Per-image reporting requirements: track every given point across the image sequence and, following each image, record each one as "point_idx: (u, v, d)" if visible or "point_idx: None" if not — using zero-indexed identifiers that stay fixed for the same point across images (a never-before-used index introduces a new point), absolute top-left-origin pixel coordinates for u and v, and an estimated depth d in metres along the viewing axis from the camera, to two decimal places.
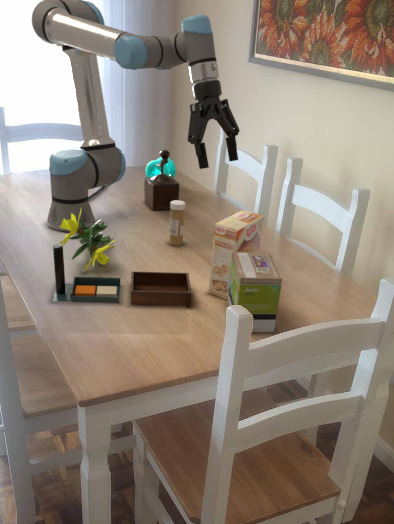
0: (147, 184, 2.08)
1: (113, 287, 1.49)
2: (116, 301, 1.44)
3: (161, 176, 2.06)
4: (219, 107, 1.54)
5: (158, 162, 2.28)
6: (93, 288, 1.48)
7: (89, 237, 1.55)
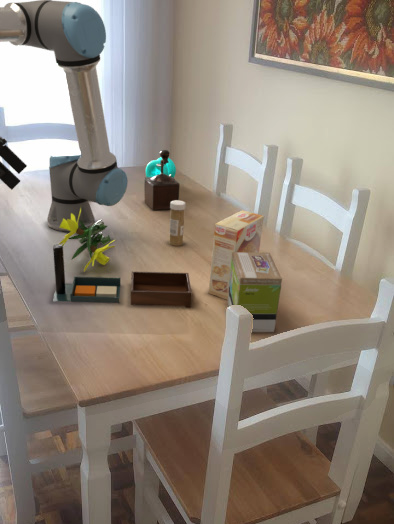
0: (147, 184, 2.08)
1: (113, 287, 1.49)
2: (116, 301, 1.44)
3: (161, 176, 2.06)
4: None
5: (158, 162, 2.28)
6: (93, 288, 1.48)
7: (89, 237, 1.55)
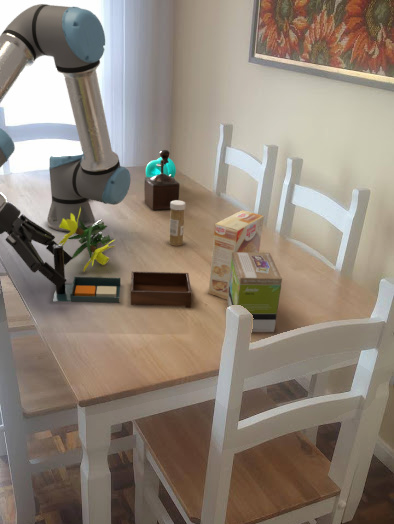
0: (147, 184, 2.08)
1: (113, 287, 1.49)
2: (116, 301, 1.44)
3: (161, 176, 2.06)
4: None
5: (158, 162, 2.28)
6: (93, 288, 1.48)
7: (88, 237, 1.55)
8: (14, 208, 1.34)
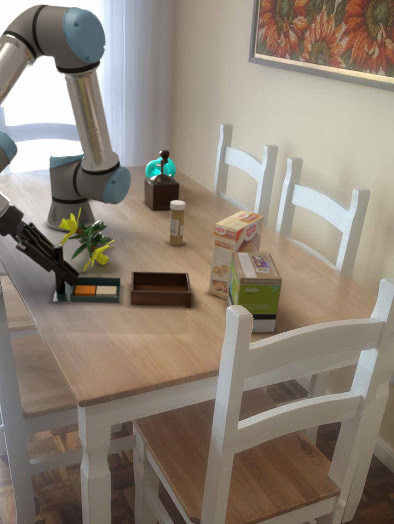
0: (147, 184, 2.08)
1: (113, 287, 1.49)
2: (116, 301, 1.44)
3: (161, 176, 2.06)
4: None
5: (158, 162, 2.28)
6: (93, 288, 1.48)
7: (88, 237, 1.55)
8: (17, 211, 1.34)
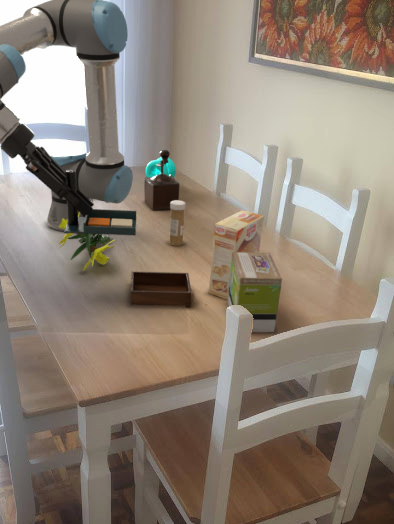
0: (147, 184, 2.08)
1: (128, 220, 1.40)
2: (132, 232, 1.35)
3: (161, 176, 2.06)
4: None
5: (158, 162, 2.28)
6: (107, 220, 1.38)
7: (88, 237, 1.55)
8: (28, 129, 1.25)
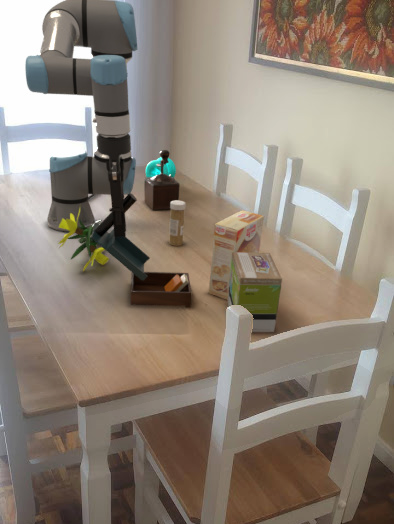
0: (147, 184, 2.08)
1: None
2: (142, 277, 1.42)
3: (161, 176, 2.06)
4: None
5: (158, 162, 2.28)
6: (177, 277, 1.49)
7: (88, 237, 1.55)
8: (130, 143, 1.28)
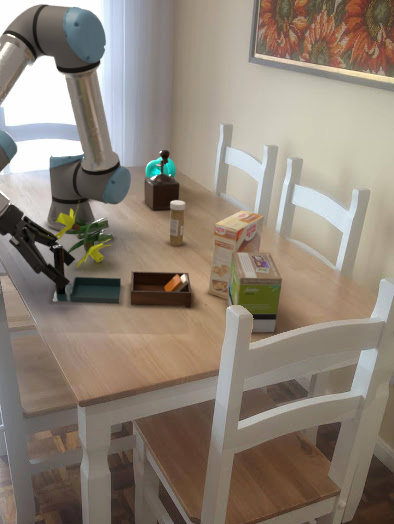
0: (147, 184, 2.08)
1: None
2: (116, 302, 1.44)
3: (161, 176, 2.06)
4: None
5: (158, 162, 2.28)
6: (177, 277, 1.49)
7: (85, 233, 1.57)
8: (17, 210, 1.34)
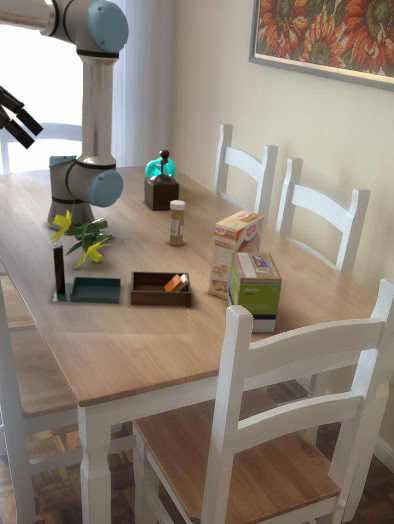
0: (147, 184, 2.08)
1: None
2: (116, 302, 1.44)
3: (161, 176, 2.06)
4: None
5: (158, 162, 2.28)
6: (177, 277, 1.49)
7: (82, 234, 1.57)
8: None
